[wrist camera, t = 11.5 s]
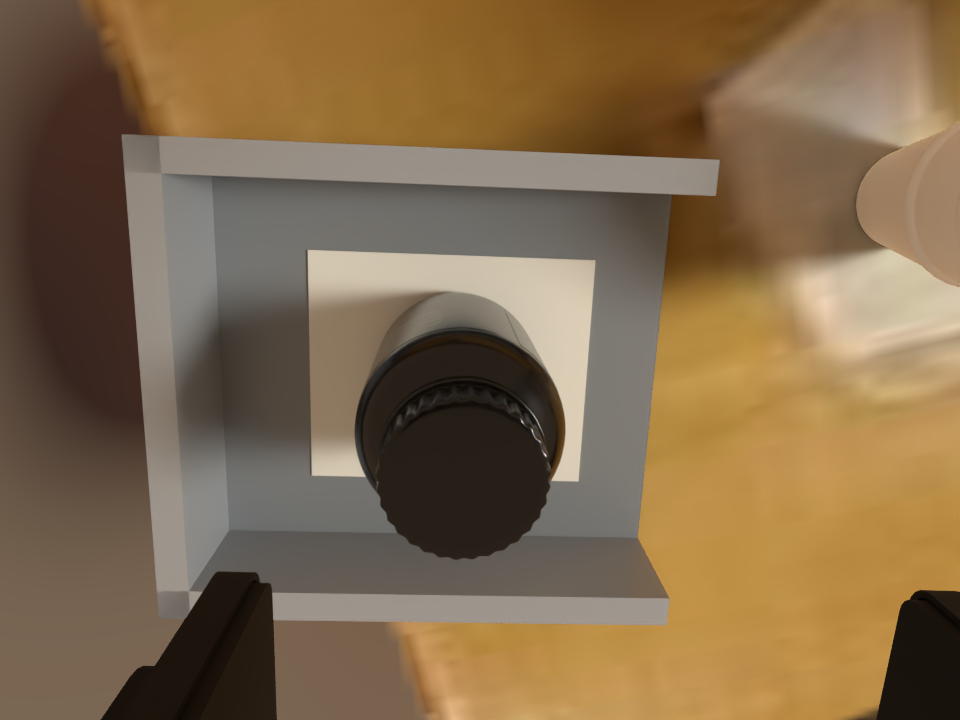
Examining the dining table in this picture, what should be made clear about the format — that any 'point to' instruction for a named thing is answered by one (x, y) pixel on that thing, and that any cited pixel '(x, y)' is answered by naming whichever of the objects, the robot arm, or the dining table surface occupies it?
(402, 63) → the dining table surface
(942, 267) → the soft serve ice cream cone
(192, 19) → the dining table surface
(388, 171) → the dock
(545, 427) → the supplement bottle
